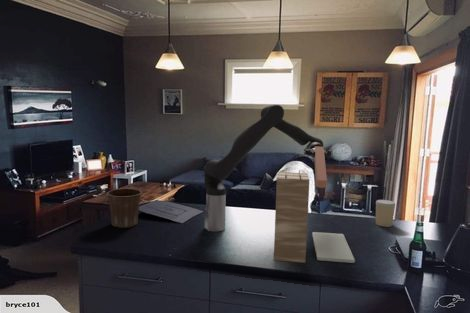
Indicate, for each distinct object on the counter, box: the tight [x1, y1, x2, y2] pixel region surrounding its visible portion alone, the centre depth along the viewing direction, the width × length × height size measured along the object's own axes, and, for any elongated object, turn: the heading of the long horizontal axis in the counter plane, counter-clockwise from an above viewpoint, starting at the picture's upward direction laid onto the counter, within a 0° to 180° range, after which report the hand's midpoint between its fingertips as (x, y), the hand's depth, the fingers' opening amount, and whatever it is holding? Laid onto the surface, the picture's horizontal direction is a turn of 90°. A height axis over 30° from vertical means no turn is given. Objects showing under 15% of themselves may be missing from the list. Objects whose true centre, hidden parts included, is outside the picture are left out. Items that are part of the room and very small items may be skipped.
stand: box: [273, 169, 310, 264], centre depth 145 cm, size 14×12×33 cm
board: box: [311, 231, 356, 264], centre depth 155 cm, size 30×14×1 cm, turn 172°
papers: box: [138, 199, 205, 224], centre depth 199 cm, size 24×30×4 cm
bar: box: [313, 146, 328, 189], centre depth 162 cm, size 24×4×4 cm, turn 172°
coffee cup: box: [375, 199, 396, 228], centre depth 188 cm, size 9×9×12 cm
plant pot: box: [106, 188, 143, 229], centre depth 178 cm, size 16×16×16 cm
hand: (319, 154), depth 166 cm, fingers closed on bar, 4 cm apart
